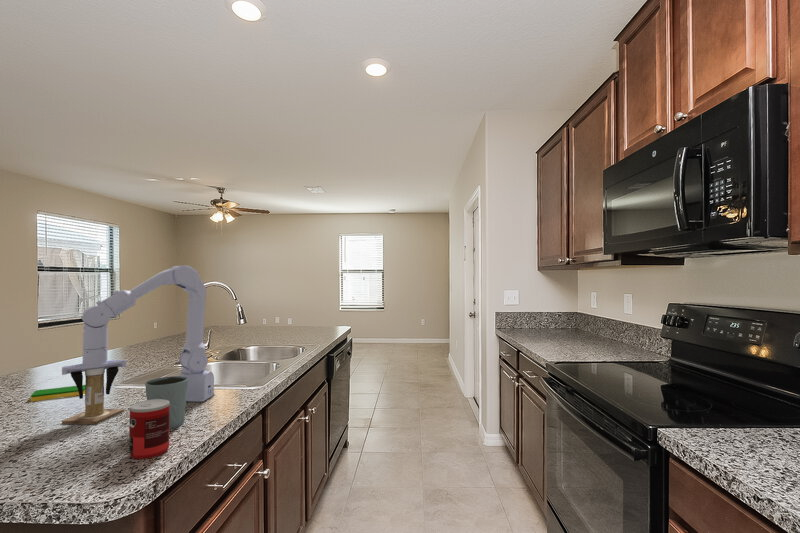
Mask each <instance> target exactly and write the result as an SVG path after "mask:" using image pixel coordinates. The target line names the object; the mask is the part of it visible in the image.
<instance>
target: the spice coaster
mask: <svg viewBox="0 0 800 533" xmlns="http://www.w3.org/2000/svg"><path fill="white" fill-rule="evenodd" d="M122 412H123V413H125V409H124V408H104V413H103V414H101V415H98V416H92V417H87V416H85V411H83V412H80V413H78V414H75V415H73V416H70V417H68V418H65V419H63V420H61V424H62V425H63V424H64V425H65V424H66V425H99V424H101V423H103V422H105V421H107V419H108V420H110V419H112V418H114V417H117V416H118V414H119V415H121V414H123V413H122ZM120 413H121V414H120ZM111 417H112V418H111ZM109 418H110V419H109ZM100 422H101V423H100ZM98 423H99V424H98Z"/></svg>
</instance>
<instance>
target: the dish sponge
mask: <svg viewBox="0 0 800 533" xmlns="http://www.w3.org/2000/svg"><path fill="white" fill-rule="evenodd" d="M82 388H83V394H85V384H83V385H82ZM76 395H79V392H78V388H77V386H76V385H72V386H63V387H62V386H61V387H55V388H54V387H53V388H45V389H37V390H34V391H33V393H32V394H31V395H30V403H31V402H38V401H40V402H41V401H47V400H53V399H54V400H55V398H56V399H62V398H61V397H64V398H68V397H67V396H72V397H77V396H76Z"/></svg>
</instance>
